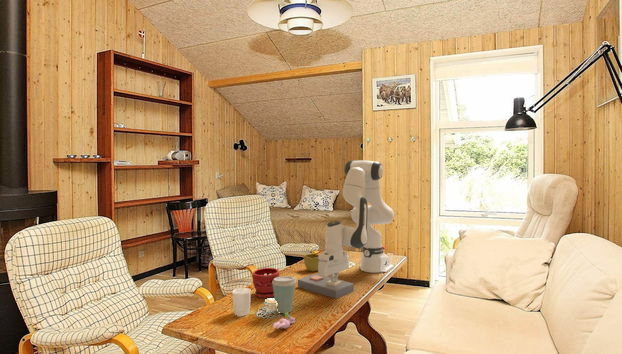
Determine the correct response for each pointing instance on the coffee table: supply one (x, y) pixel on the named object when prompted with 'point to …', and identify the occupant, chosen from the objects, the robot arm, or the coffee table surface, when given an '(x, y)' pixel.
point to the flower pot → (311, 262)
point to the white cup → (241, 301)
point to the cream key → (334, 283)
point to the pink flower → (284, 322)
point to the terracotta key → (316, 278)
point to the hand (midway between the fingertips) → (334, 281)
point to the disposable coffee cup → (284, 292)
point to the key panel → (324, 291)
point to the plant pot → (264, 281)
